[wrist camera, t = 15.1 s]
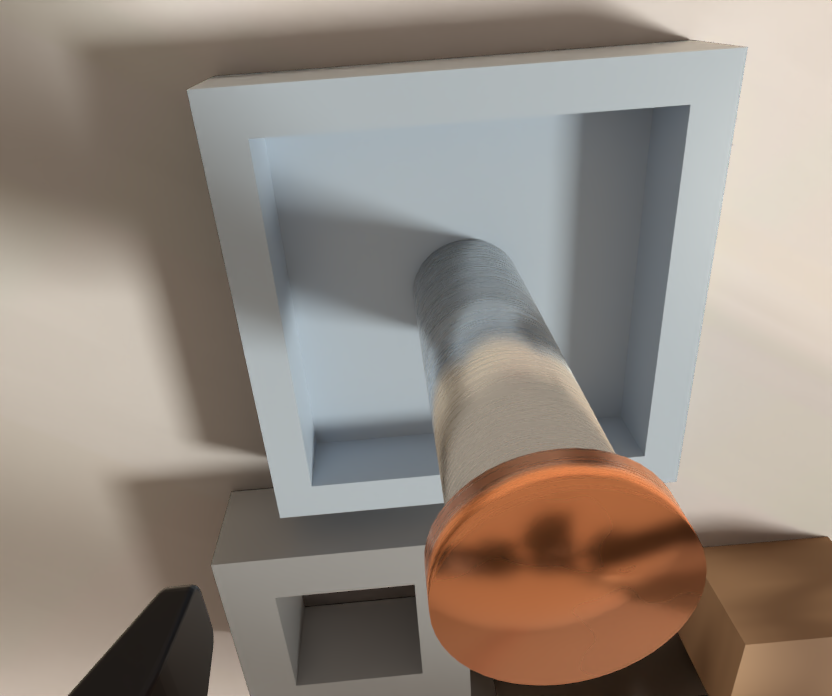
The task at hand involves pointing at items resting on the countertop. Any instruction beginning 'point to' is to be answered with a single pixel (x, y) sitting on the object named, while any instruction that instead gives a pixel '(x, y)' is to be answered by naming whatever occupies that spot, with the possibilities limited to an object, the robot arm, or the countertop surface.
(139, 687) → the robot arm
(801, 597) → the block
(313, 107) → the tray
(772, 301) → the countertop surface
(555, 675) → the stop pin
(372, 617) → the pin socket
